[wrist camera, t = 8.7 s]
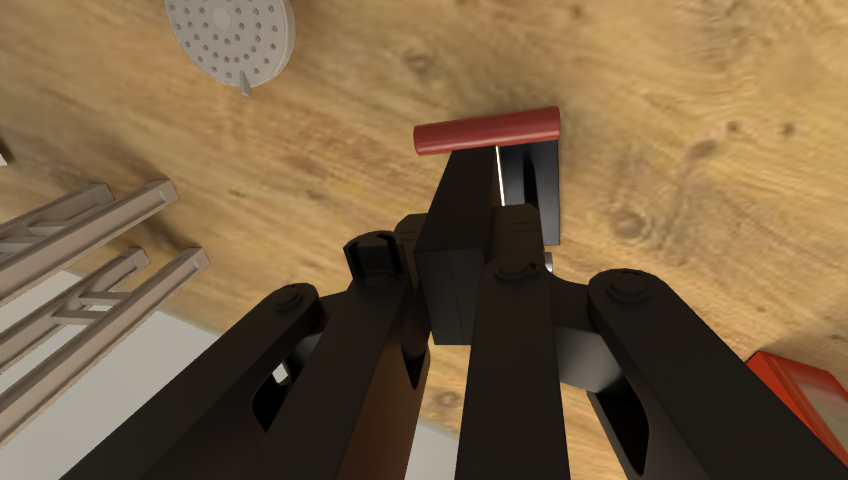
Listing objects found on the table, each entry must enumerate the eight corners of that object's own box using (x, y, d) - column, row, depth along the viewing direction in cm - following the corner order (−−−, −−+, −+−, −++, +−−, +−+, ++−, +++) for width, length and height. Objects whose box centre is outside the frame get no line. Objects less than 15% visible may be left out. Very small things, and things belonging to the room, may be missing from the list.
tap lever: (416, 113, 19) (410, 145, 18) (556, 92, 18) (561, 126, 16) (461, 263, 29) (460, 292, 28) (554, 259, 28) (557, 289, 26)
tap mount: (451, 130, 36) (418, 201, 23) (556, 115, 34) (581, 187, 21) (468, 243, 42) (449, 348, 29) (558, 237, 39) (579, 349, 27)
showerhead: (193, 105, 31) (127, -50, 26) (245, 86, 37) (199, -42, 32) (301, 90, 29) (250, -82, 24) (337, 73, 35) (303, -67, 30)
